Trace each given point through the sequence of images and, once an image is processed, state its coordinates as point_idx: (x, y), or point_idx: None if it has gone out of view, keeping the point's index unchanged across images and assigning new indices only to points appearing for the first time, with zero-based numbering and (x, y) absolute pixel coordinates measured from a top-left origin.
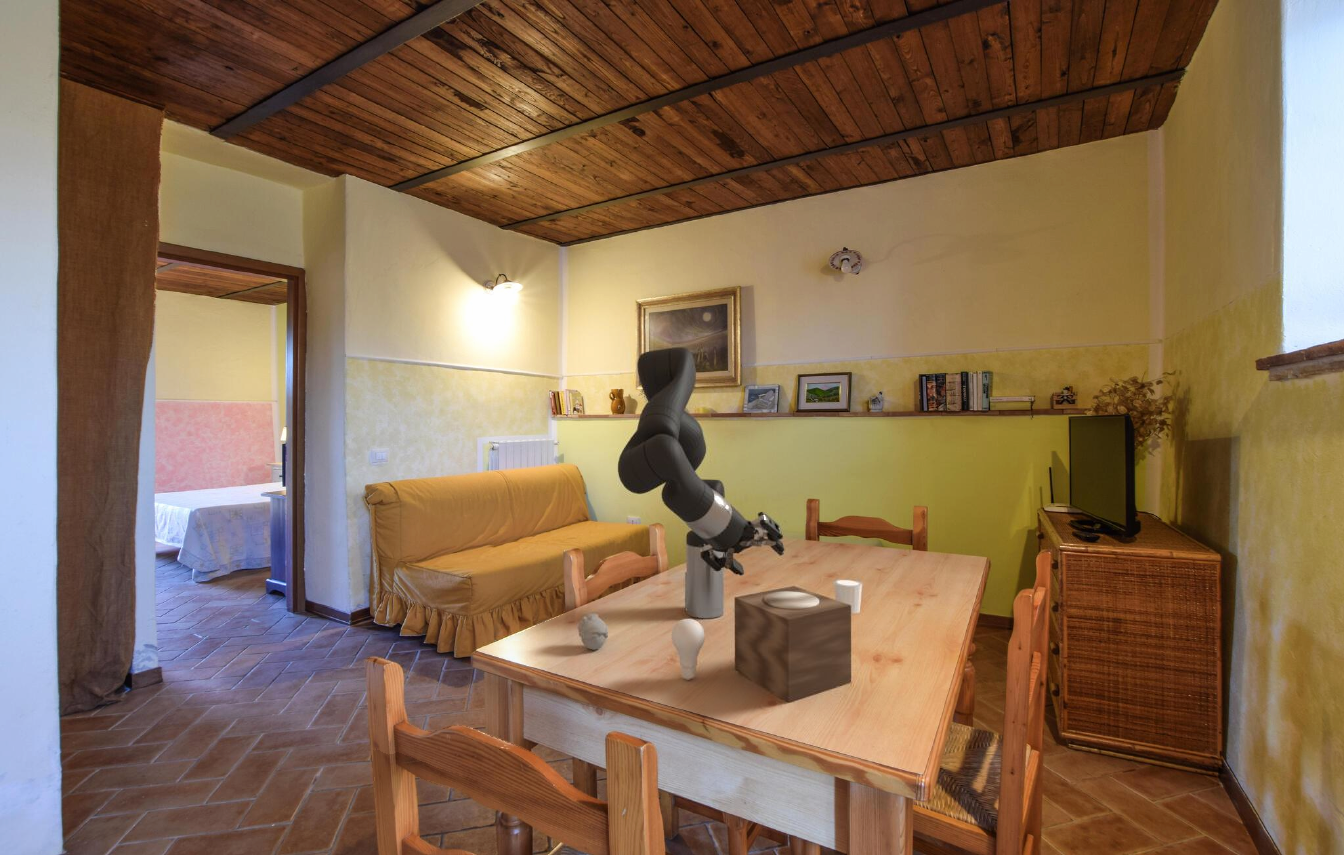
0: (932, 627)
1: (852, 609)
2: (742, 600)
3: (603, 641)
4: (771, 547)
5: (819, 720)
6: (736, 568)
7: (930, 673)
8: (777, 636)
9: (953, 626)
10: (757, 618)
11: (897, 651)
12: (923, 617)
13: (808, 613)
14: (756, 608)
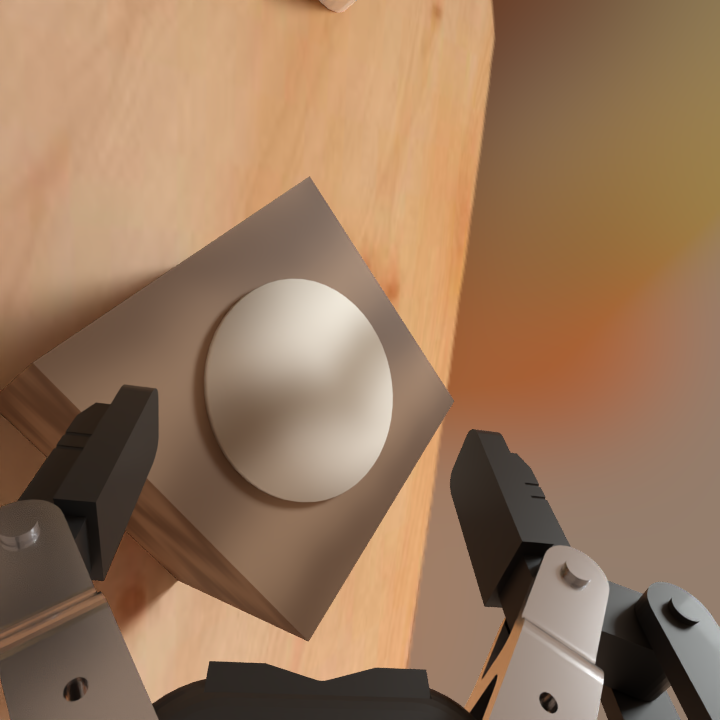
0: (446, 136)
1: (340, 4)
2: None
3: None
4: (484, 600)
5: (248, 642)
6: (119, 539)
7: (429, 349)
8: (225, 583)
9: (469, 139)
10: (156, 506)
11: (395, 247)
12: (439, 82)
13: (363, 529)
14: (168, 502)
